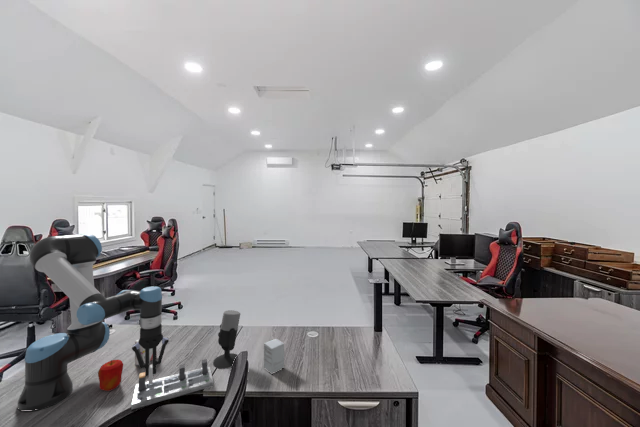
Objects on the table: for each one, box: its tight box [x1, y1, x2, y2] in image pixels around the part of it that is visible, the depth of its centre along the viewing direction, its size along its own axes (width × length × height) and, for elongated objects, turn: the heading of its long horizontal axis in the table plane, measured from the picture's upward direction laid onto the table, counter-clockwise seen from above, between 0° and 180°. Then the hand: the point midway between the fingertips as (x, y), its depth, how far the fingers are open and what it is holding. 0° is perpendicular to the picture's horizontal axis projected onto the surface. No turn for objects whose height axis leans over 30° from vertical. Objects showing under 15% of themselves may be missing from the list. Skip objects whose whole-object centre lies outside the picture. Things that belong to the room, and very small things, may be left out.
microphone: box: [212, 310, 241, 370], centre depth 131 cm, size 13×13×25 cm
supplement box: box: [263, 338, 285, 373], centre depth 126 cm, size 7×7×13 cm
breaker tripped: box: [137, 372, 147, 392], centre depth 105 cm, size 3×3×7 cm
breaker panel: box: [130, 365, 214, 410], centre depth 111 cm, size 29×13×4 cm, turn 119°
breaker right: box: [200, 358, 208, 375], centre depth 116 cm, size 3×3×6 cm
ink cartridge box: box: [134, 338, 158, 366], centre depth 130 cm, size 9×5×15 cm, turn 168°
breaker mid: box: [178, 363, 186, 381], centre depth 112 cm, size 3×3×6 cm
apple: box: [97, 359, 124, 392], centre depth 110 cm, size 9×8×12 cm
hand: (150, 382), depth 107 cm, fingers closed
